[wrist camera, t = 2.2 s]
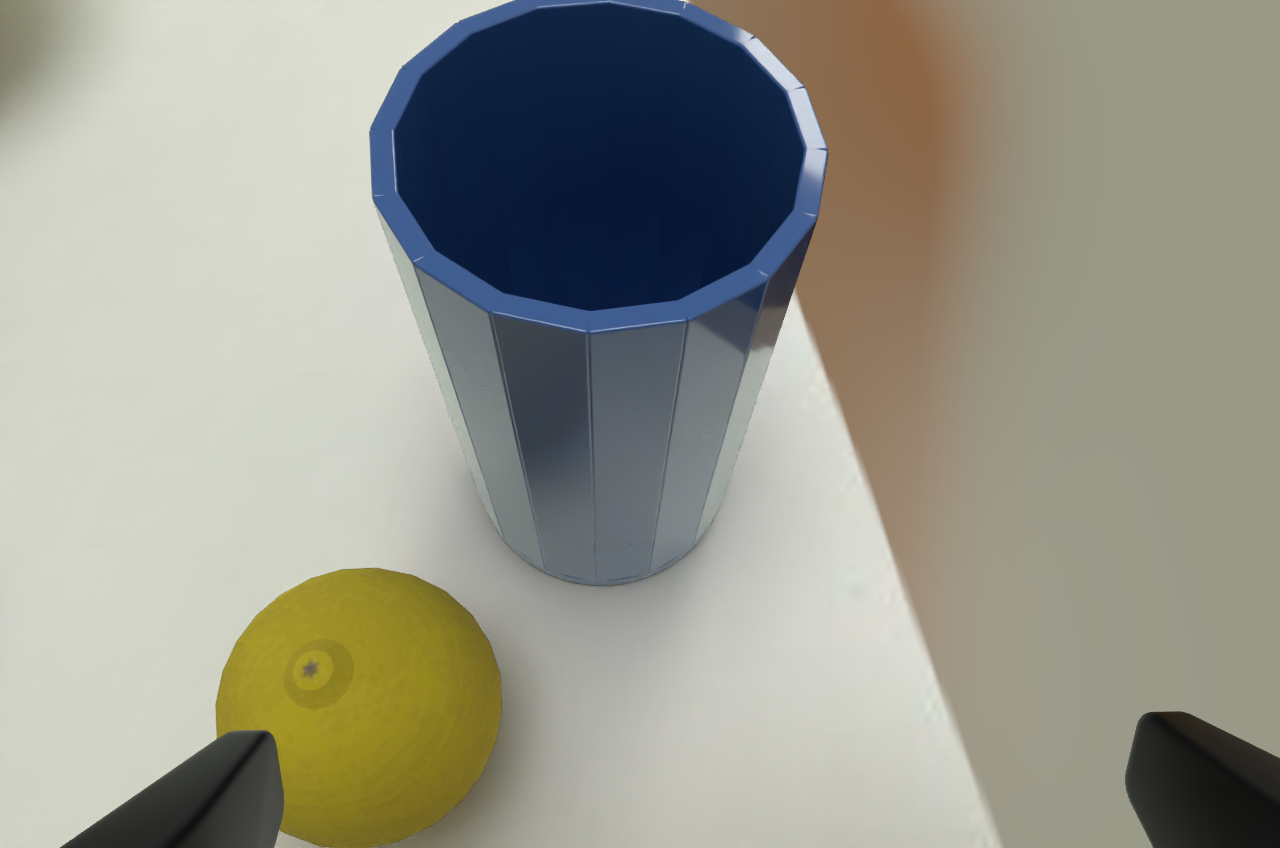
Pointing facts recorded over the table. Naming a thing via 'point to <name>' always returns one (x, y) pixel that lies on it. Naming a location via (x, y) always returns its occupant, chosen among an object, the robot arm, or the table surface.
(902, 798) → the table surface
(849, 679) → the table surface
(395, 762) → the lemon
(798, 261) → the blue cup
